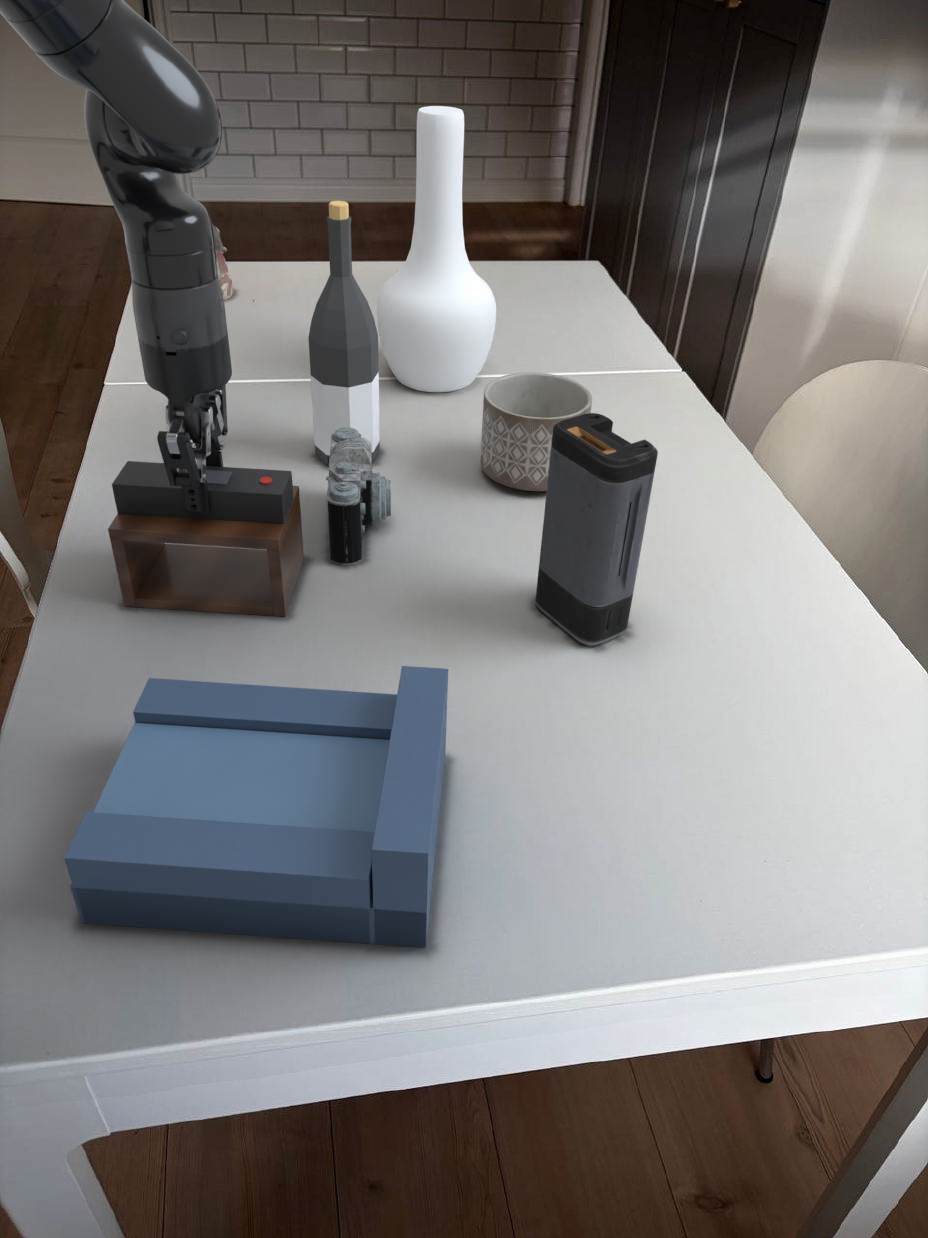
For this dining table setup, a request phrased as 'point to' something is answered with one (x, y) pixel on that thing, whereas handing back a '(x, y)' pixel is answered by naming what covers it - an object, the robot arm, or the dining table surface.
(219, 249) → the figurine
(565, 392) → the planter
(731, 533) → the dining table surface
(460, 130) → the vase
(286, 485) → the remote
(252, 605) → the shelf
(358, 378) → the wine bottle
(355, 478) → the camera
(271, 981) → the dining table surface
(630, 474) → the electronic device
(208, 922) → the sofa
